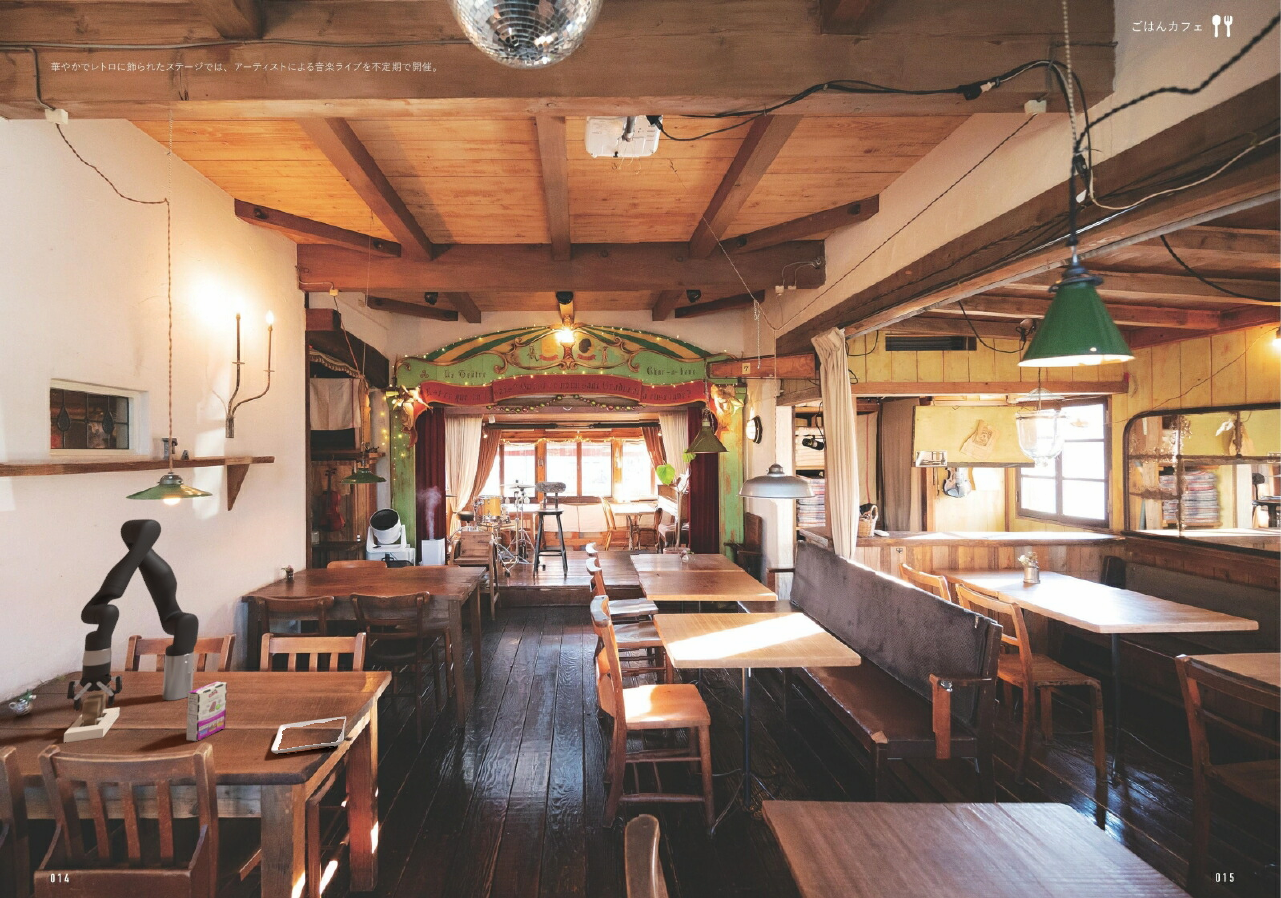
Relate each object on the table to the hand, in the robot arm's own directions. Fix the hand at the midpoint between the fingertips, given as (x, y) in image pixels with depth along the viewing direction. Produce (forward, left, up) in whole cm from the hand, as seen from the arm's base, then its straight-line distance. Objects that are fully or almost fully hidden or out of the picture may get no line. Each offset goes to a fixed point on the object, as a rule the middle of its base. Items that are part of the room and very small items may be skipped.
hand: (94, 708), depth 212 cm
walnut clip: (0, 0, -7) cm, 7 cm away
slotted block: (0, 0, -7) cm, 7 cm away
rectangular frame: (-67, +41, -8) cm, 79 cm away
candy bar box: (-35, +21, -7) cm, 41 cm away
